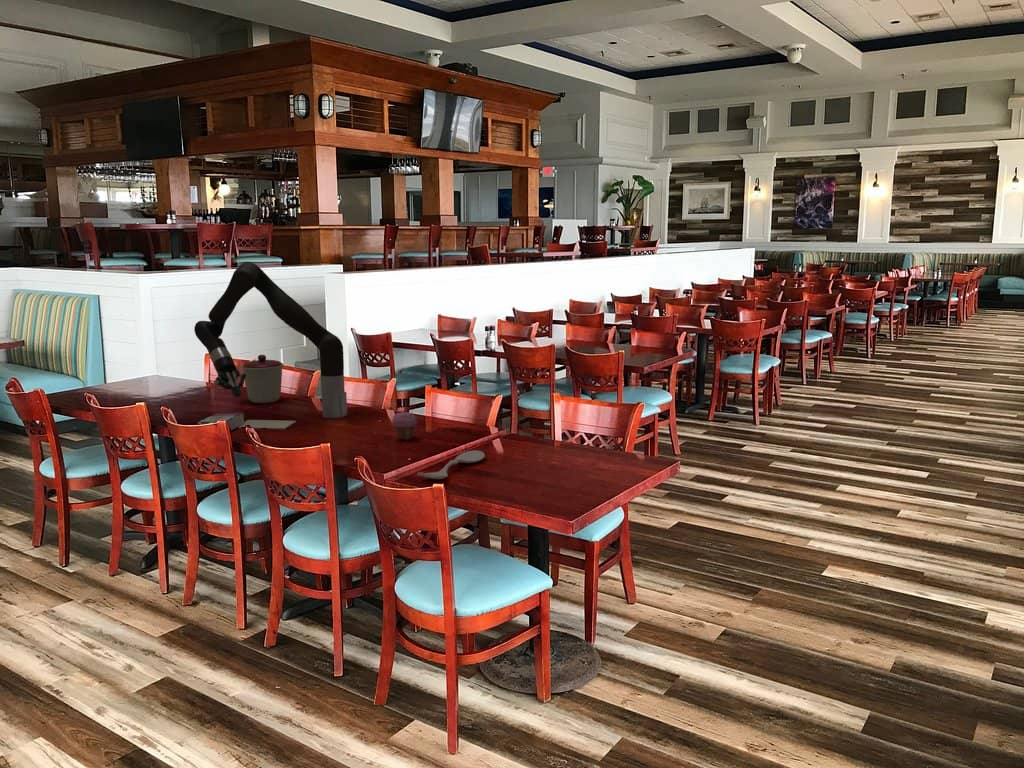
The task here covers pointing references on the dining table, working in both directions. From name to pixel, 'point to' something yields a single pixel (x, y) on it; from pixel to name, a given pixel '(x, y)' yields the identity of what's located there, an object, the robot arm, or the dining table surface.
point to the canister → (263, 379)
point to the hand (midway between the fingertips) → (238, 395)
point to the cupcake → (404, 425)
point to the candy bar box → (226, 419)
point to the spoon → (464, 458)
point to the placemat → (267, 424)
